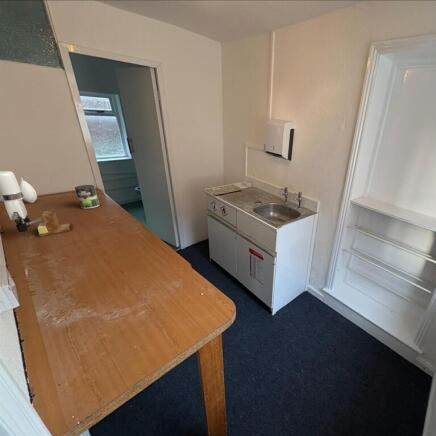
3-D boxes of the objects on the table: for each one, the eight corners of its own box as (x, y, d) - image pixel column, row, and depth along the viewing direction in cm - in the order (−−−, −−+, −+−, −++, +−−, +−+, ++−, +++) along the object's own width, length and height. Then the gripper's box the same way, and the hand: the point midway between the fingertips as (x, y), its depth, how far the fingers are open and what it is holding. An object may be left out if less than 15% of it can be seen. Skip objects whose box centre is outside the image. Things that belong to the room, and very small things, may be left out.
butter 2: (39, 233, 122) (37, 228, 121) (40, 231, 124) (38, 226, 123) (47, 232, 123) (45, 227, 122) (48, 229, 126) (46, 225, 125)
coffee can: (97, 207, 161) (91, 188, 155) (78, 209, 157) (71, 189, 151) (101, 203, 169) (96, 184, 164) (84, 204, 165) (77, 185, 160)
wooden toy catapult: (39, 236, 122) (30, 217, 117) (41, 230, 128) (33, 212, 124) (69, 230, 129) (63, 212, 125) (70, 225, 135) (63, 207, 131)
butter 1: (40, 230, 125) (38, 225, 124) (41, 228, 127) (39, 223, 126) (48, 229, 127) (46, 224, 126) (49, 227, 129) (47, 222, 128)
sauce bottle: (24, 201, 165) (13, 177, 158) (39, 199, 170) (30, 175, 163) (23, 204, 160) (12, 179, 153) (39, 202, 165) (29, 177, 158)
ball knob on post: (24, 229, 119) (19, 225, 118) (25, 227, 122) (20, 222, 120) (54, 217, 125) (50, 212, 123) (55, 215, 127) (50, 210, 126)
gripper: (4, 193, 118) (17, 223, 124) (-5, 202, 106) (11, 236, 112) (25, 191, 122) (37, 220, 129) (19, 200, 110) (33, 232, 117)
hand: (25, 227), depth 120 cm, fingers open, 9 cm apart
